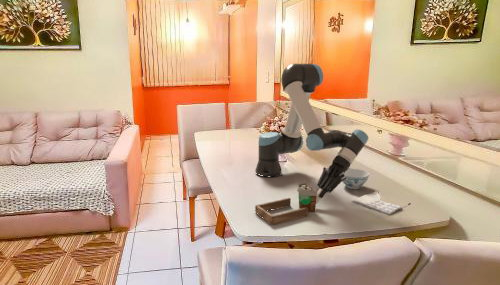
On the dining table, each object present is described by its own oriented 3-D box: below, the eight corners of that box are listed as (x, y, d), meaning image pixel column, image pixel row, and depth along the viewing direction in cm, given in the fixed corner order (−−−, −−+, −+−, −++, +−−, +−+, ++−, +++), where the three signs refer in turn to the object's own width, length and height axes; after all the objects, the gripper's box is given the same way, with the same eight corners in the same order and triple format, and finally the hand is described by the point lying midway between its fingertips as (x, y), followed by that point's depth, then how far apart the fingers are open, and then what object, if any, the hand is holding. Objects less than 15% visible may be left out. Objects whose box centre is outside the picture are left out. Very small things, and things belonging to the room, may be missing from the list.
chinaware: (350, 193, 167) (351, 178, 166) (331, 184, 181) (332, 170, 179) (374, 189, 173) (375, 174, 171) (354, 180, 187) (355, 166, 185)
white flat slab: (350, 202, 158) (351, 198, 157) (376, 193, 170) (376, 189, 169) (389, 217, 143) (389, 212, 143) (413, 205, 155) (414, 200, 155)
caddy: (255, 213, 145) (255, 205, 145) (289, 205, 154) (289, 197, 153) (271, 225, 134) (272, 217, 134) (307, 215, 143) (307, 208, 142)
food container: (292, 203, 155) (292, 182, 153) (304, 202, 157) (305, 181, 154) (303, 215, 144) (303, 192, 141) (316, 213, 145) (317, 191, 143)
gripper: (358, 168, 151) (328, 211, 146) (337, 161, 162) (309, 201, 157) (350, 158, 147) (319, 202, 143) (329, 151, 158) (300, 193, 154)
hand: (314, 202), depth 150 cm, fingers closed
